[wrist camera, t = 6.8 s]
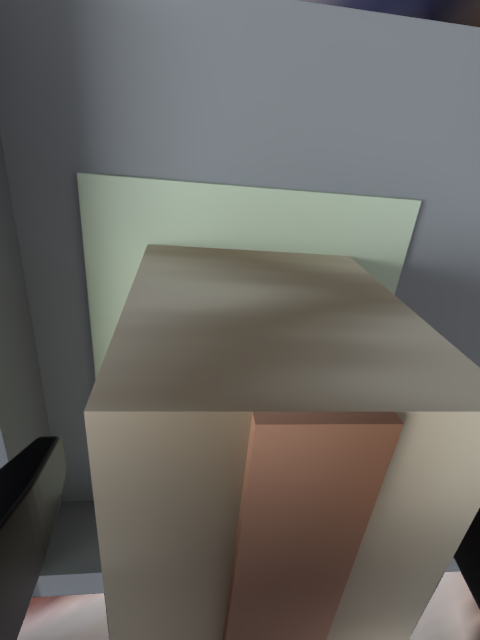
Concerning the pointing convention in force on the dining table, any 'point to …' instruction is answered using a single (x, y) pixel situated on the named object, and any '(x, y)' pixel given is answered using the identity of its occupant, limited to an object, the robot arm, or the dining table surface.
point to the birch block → (276, 451)
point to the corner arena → (215, 182)
